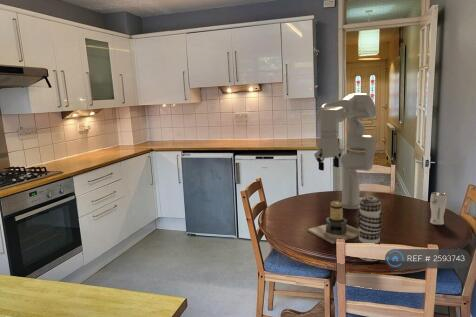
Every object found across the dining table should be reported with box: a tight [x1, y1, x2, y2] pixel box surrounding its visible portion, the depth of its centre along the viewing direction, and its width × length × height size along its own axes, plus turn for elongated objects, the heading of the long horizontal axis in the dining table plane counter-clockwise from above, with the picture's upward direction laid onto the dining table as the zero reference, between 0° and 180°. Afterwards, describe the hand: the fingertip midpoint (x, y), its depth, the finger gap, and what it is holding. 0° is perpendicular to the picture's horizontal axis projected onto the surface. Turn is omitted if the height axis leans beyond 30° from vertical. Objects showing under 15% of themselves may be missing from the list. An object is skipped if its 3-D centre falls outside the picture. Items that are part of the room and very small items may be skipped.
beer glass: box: [429, 191, 447, 226], centre depth 179 cm, size 7×7×15 cm
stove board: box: [307, 224, 360, 245], centre depth 173 cm, size 20×18×1 cm
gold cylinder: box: [329, 200, 344, 230], centre depth 172 cm, size 6×6×14 cm
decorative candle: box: [357, 195, 383, 262], centre depth 146 cm, size 9×9×25 cm
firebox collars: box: [325, 216, 348, 235], centre depth 173 cm, size 9×9×6 cm
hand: (328, 168), depth 178 cm, fingers open, 9 cm apart
